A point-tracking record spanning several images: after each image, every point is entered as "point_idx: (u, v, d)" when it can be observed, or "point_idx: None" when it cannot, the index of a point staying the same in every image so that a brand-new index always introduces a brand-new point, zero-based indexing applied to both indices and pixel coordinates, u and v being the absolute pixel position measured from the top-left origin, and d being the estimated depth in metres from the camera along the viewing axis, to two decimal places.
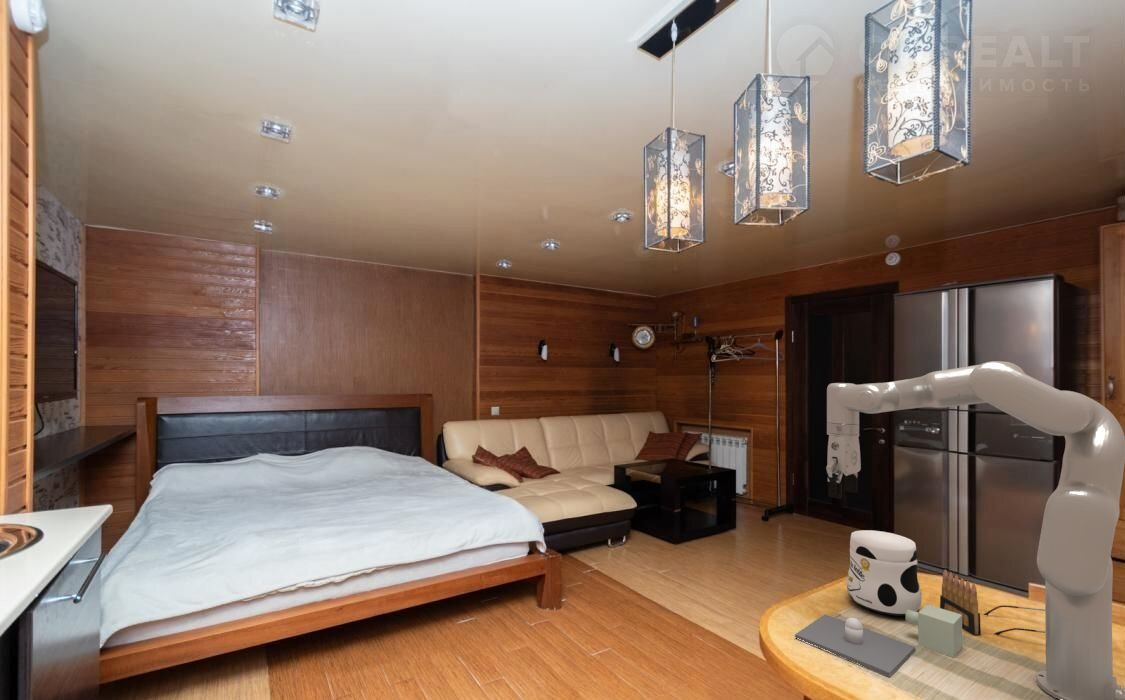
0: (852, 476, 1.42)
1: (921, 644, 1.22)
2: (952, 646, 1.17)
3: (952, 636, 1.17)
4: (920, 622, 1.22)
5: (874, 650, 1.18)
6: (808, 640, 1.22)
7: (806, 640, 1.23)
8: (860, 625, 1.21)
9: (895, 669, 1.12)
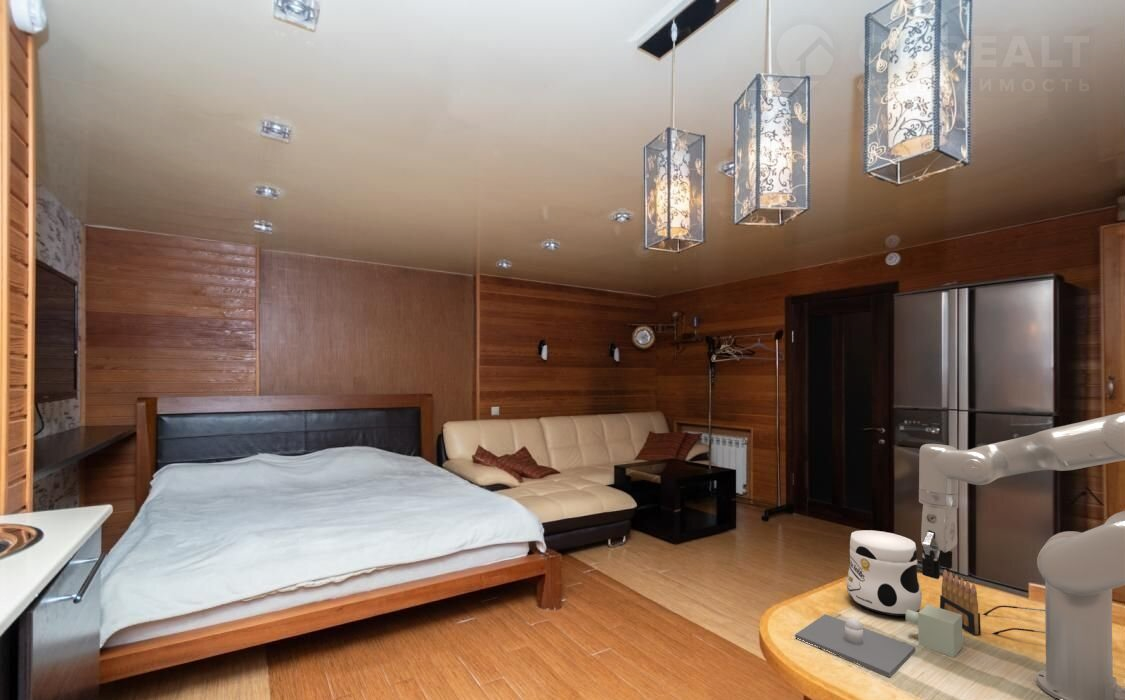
0: None
1: (921, 644, 1.22)
2: (952, 646, 1.17)
3: (952, 636, 1.17)
4: (920, 622, 1.22)
5: (874, 650, 1.18)
6: (808, 640, 1.22)
7: (806, 640, 1.23)
8: (860, 625, 1.21)
9: (895, 669, 1.12)
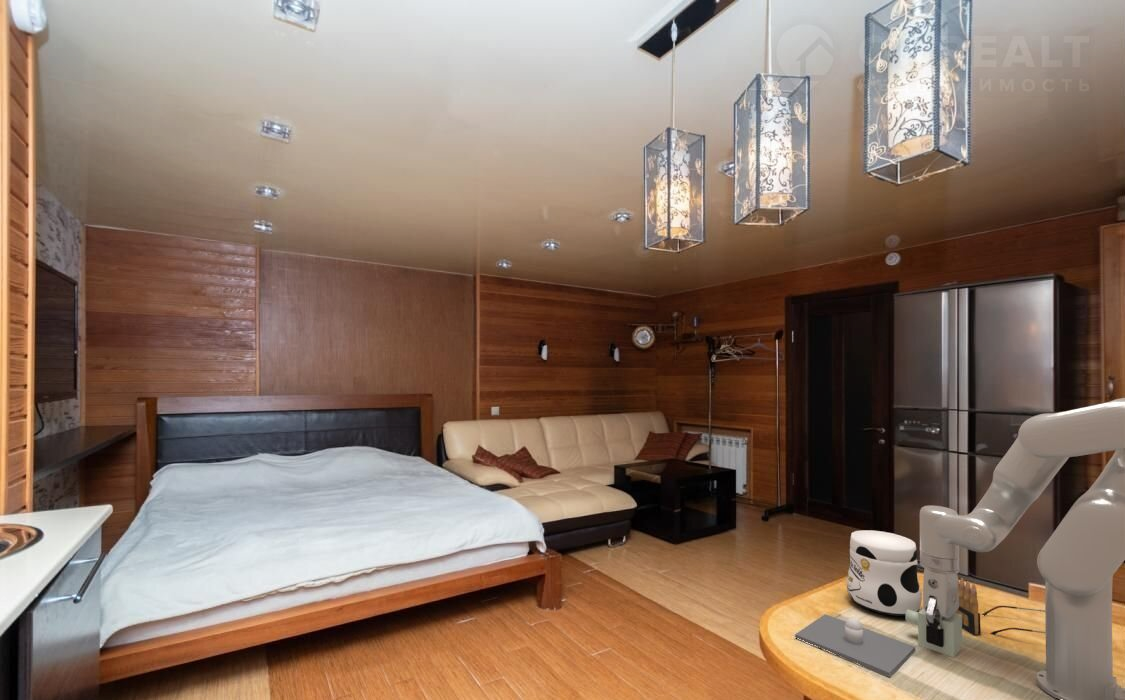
0: None
1: (921, 644, 1.22)
2: (952, 646, 1.17)
3: (952, 636, 1.17)
4: (920, 622, 1.22)
5: (874, 650, 1.18)
6: (808, 640, 1.22)
7: (806, 640, 1.23)
8: (860, 625, 1.21)
9: (895, 669, 1.12)
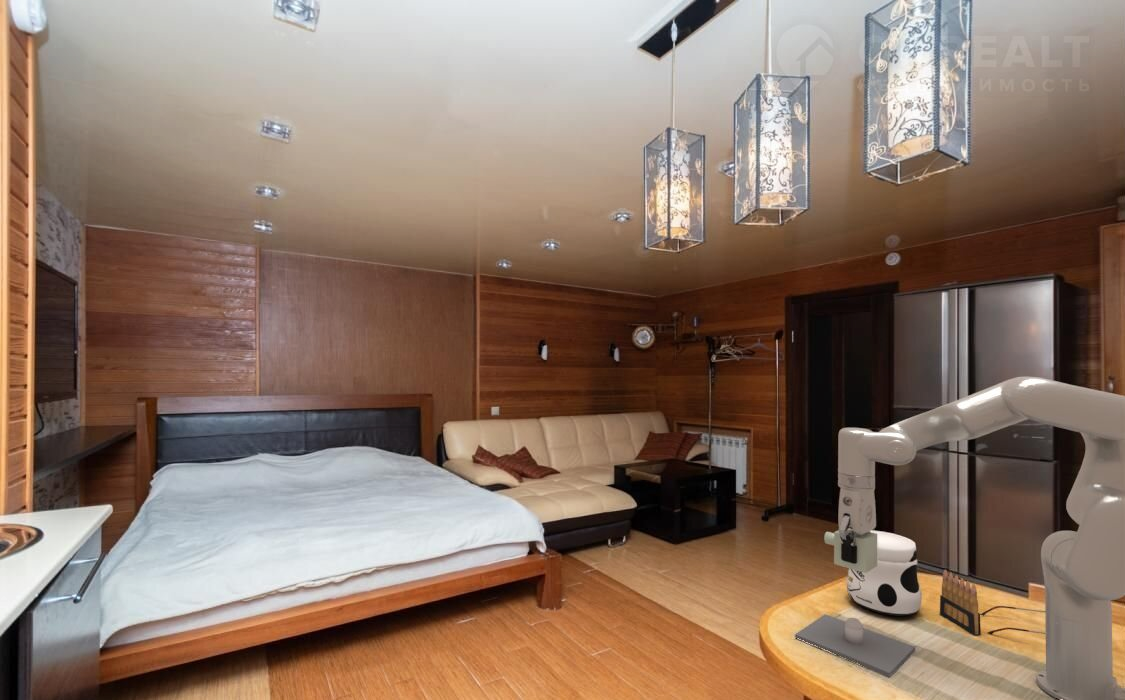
0: None
1: (836, 563, 1.23)
2: (864, 562, 1.18)
3: (864, 552, 1.18)
4: (836, 541, 1.23)
5: (874, 650, 1.18)
6: (808, 640, 1.22)
7: (806, 640, 1.23)
8: (860, 625, 1.21)
9: (895, 669, 1.12)
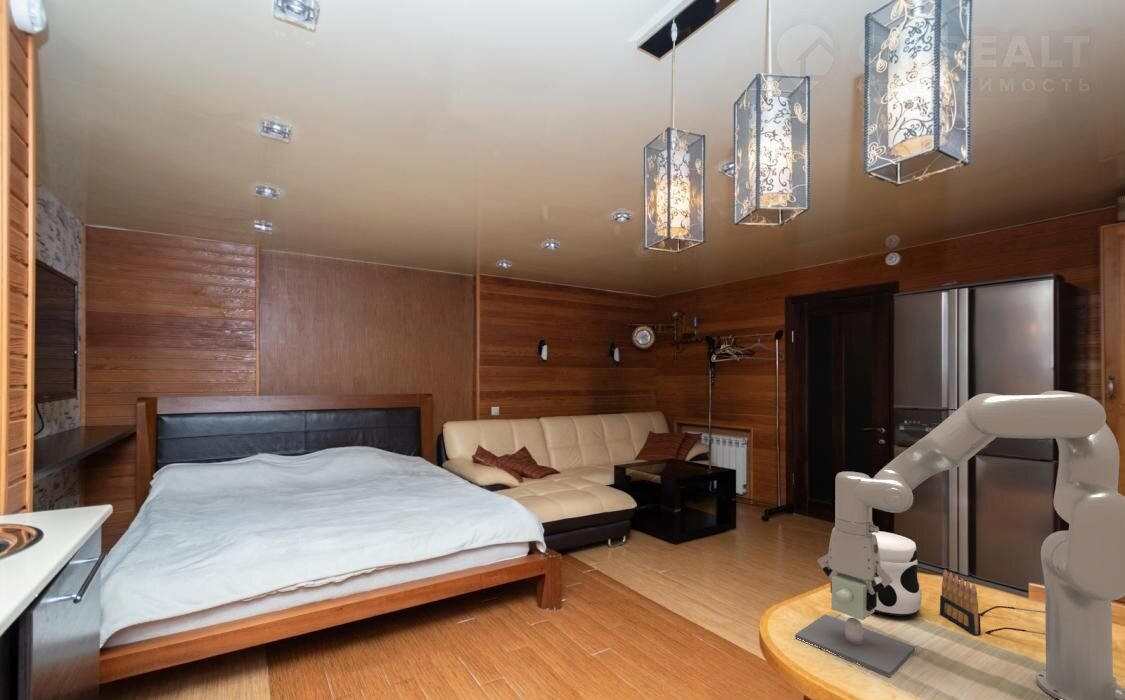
0: None
1: (864, 618, 1.18)
2: None
3: None
4: (863, 595, 1.18)
5: (874, 650, 1.18)
6: (808, 640, 1.22)
7: (806, 640, 1.23)
8: (860, 625, 1.21)
9: (895, 669, 1.12)
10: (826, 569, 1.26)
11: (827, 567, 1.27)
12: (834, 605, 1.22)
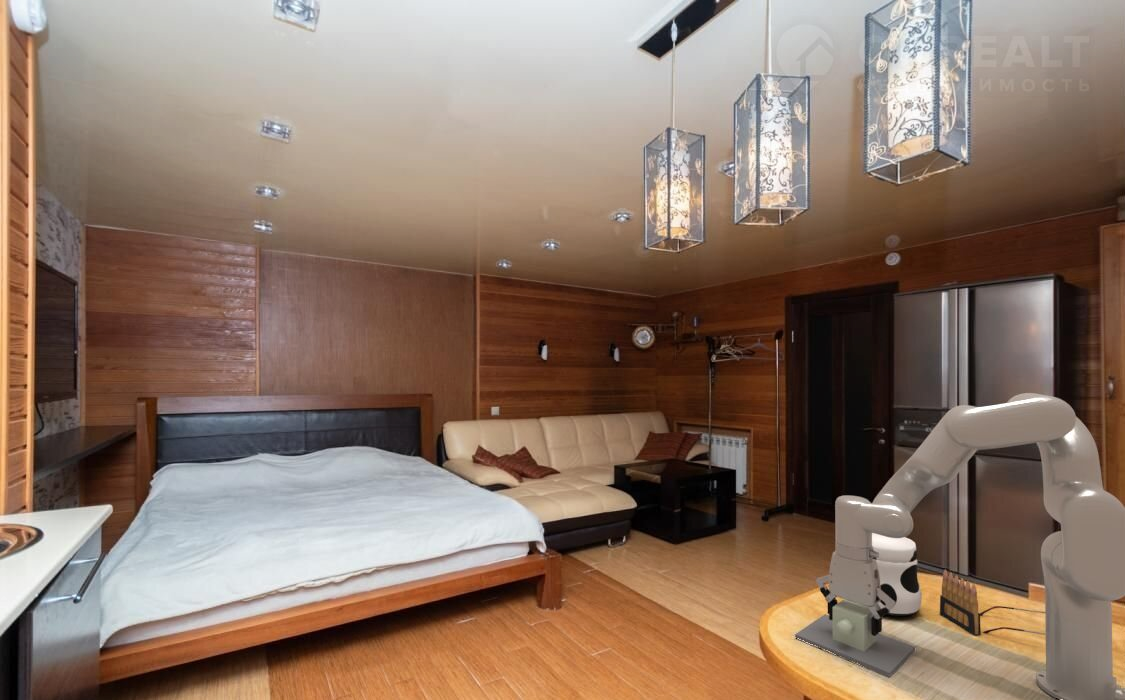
0: (835, 600, 1.26)
1: (865, 649, 1.18)
2: None
3: None
4: (865, 626, 1.18)
5: (874, 650, 1.18)
6: (808, 640, 1.22)
7: (806, 640, 1.23)
8: None
9: (895, 669, 1.12)
10: (823, 590, 1.27)
11: (824, 588, 1.27)
12: (835, 635, 1.22)
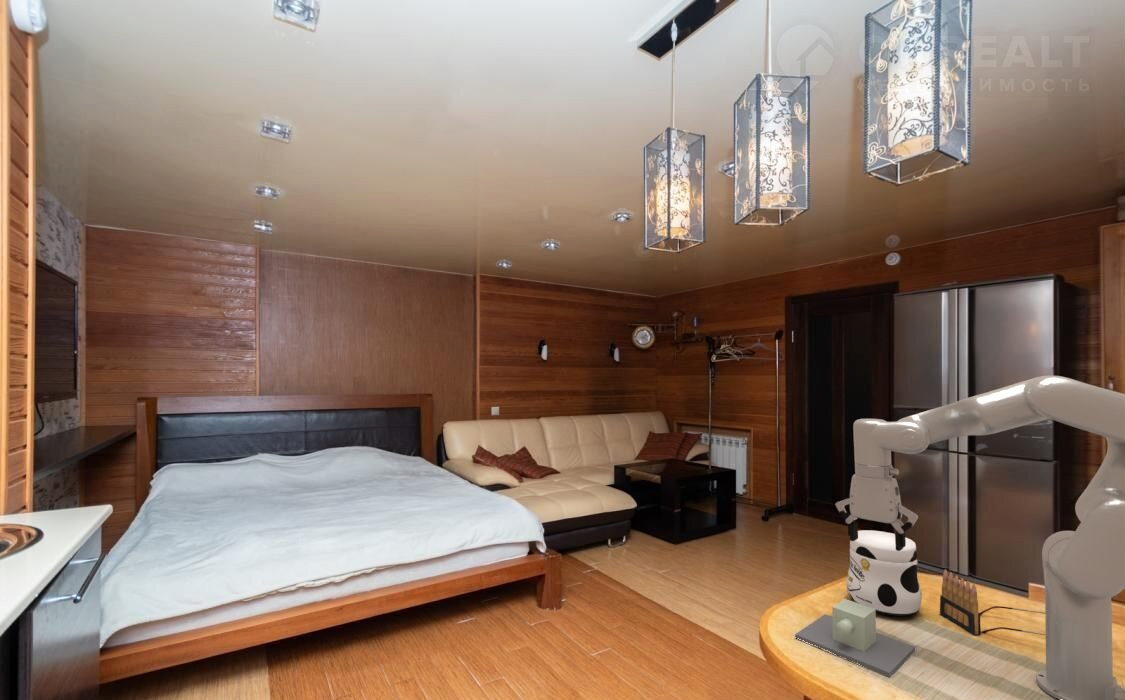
0: (855, 521, 1.28)
1: (865, 649, 1.18)
2: (875, 631, 1.22)
3: (875, 621, 1.22)
4: (865, 626, 1.18)
5: (874, 650, 1.18)
6: (808, 640, 1.22)
7: (806, 640, 1.23)
8: None
9: (895, 669, 1.12)
10: (843, 512, 1.29)
11: (844, 511, 1.29)
12: (835, 635, 1.22)
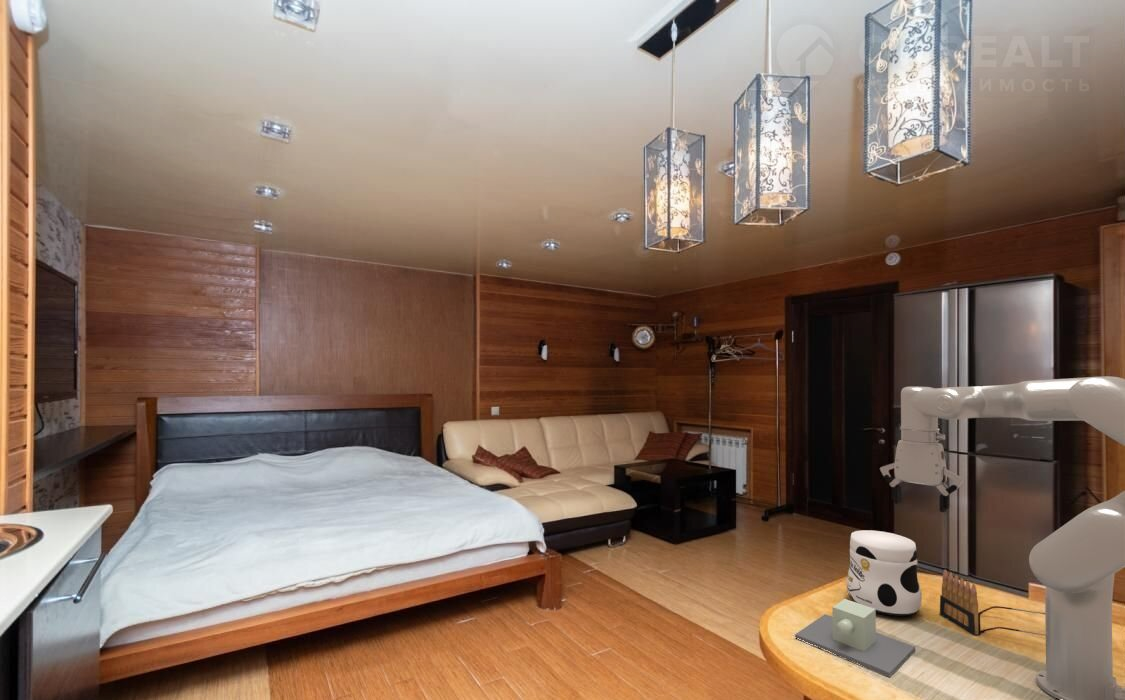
0: None
1: (865, 649, 1.18)
2: (875, 631, 1.22)
3: (875, 621, 1.22)
4: (865, 626, 1.18)
5: (874, 650, 1.18)
6: (808, 640, 1.22)
7: (806, 640, 1.23)
8: None
9: (895, 669, 1.12)
10: (887, 476, 1.34)
11: (888, 475, 1.34)
12: (835, 635, 1.22)
